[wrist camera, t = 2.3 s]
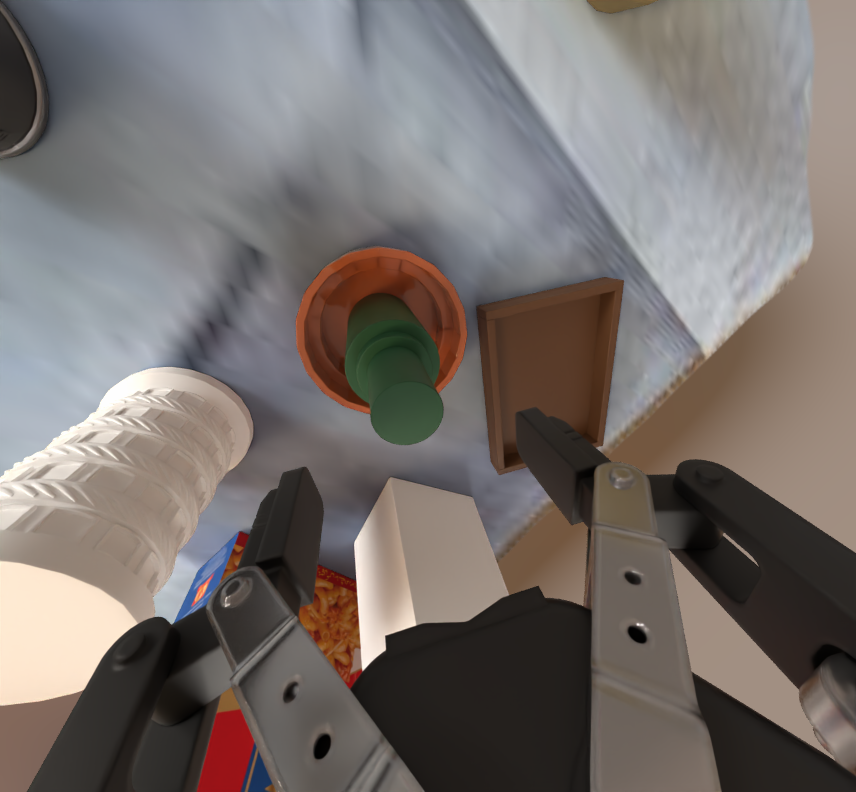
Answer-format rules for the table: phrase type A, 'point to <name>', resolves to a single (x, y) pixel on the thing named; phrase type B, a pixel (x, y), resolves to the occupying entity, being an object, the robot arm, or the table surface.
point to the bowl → (356, 279)
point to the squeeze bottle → (618, 4)
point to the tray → (549, 361)
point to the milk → (421, 563)
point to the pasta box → (231, 738)
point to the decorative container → (106, 523)
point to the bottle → (393, 369)
